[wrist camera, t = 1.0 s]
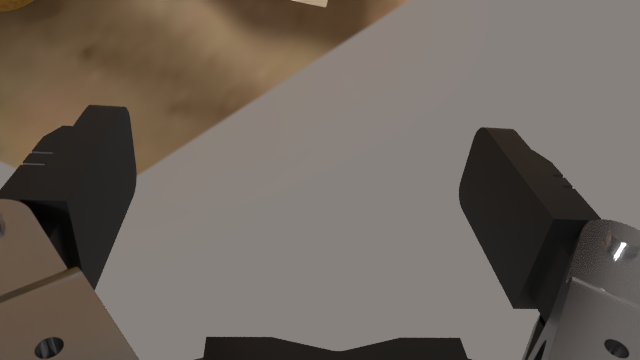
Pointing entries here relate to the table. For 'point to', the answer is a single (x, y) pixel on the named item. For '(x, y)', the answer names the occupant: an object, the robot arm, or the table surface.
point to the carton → (314, 2)
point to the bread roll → (13, 4)
